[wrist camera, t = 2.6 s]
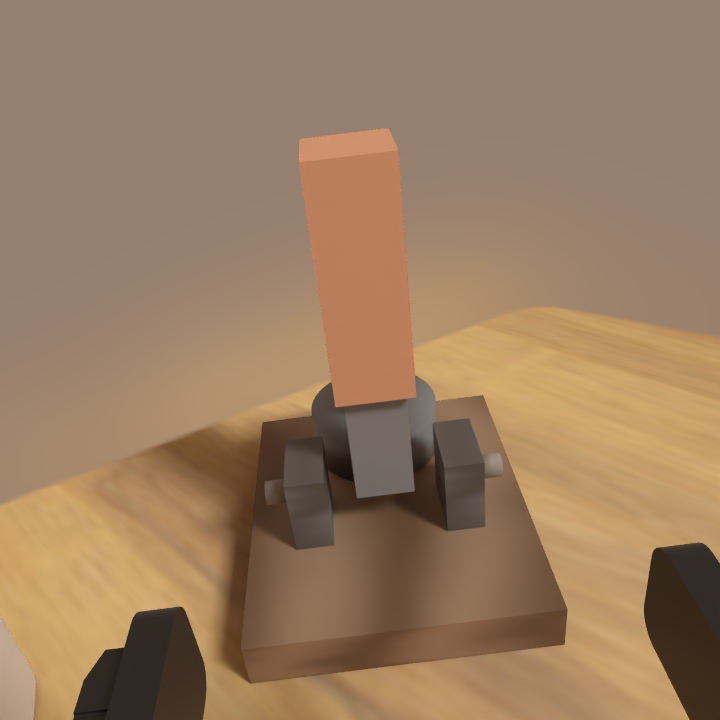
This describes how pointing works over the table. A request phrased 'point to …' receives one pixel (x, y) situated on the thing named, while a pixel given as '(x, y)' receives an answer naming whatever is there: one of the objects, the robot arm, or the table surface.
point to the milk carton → (15, 680)
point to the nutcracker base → (392, 549)
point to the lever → (364, 298)
